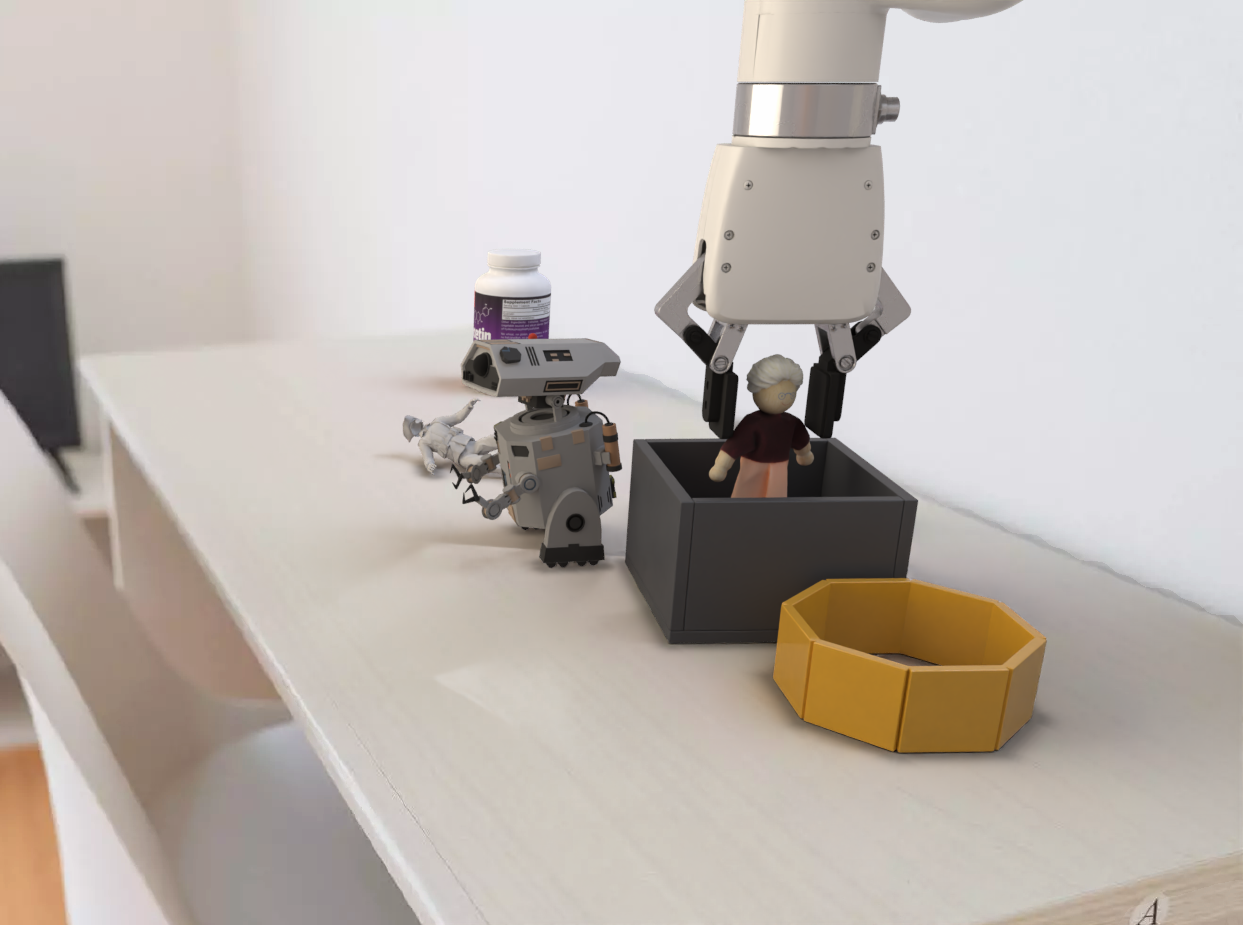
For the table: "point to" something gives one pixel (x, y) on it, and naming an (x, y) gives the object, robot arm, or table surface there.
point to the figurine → (548, 441)
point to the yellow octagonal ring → (908, 695)
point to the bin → (755, 536)
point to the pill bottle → (512, 297)
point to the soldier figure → (449, 439)
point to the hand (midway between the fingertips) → (769, 430)
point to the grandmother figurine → (766, 432)
